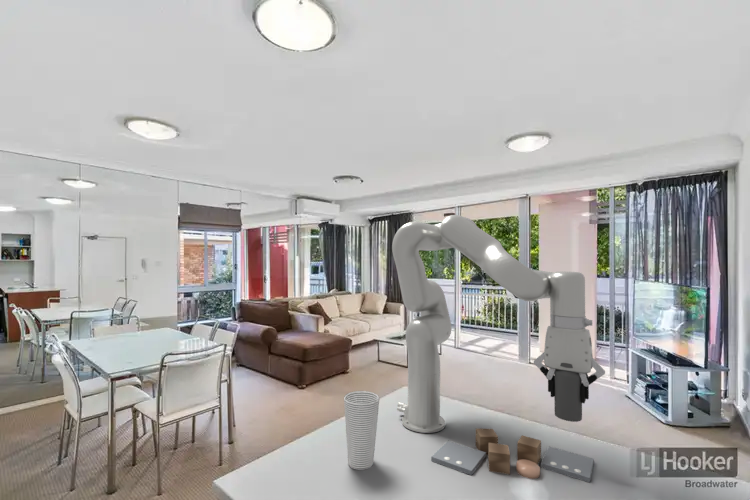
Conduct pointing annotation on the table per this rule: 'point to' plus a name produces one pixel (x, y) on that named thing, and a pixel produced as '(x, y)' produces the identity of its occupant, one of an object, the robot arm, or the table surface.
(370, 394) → the cup
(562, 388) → the bottle
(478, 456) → the pad two
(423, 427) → the robot arm
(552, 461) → the pad three
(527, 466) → the peach glossy rounded part
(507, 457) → the block
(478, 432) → the block
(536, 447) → the block
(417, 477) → the table surface
